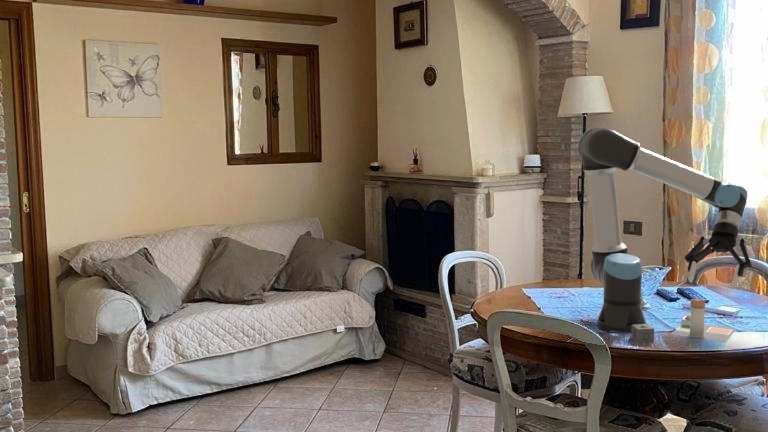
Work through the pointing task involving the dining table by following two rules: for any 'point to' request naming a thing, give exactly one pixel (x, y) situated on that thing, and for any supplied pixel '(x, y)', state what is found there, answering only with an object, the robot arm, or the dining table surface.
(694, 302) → the ball
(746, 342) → the dining table surface
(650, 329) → the grey smiley picture cube
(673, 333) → the grey flat square panel
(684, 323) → the button housing
